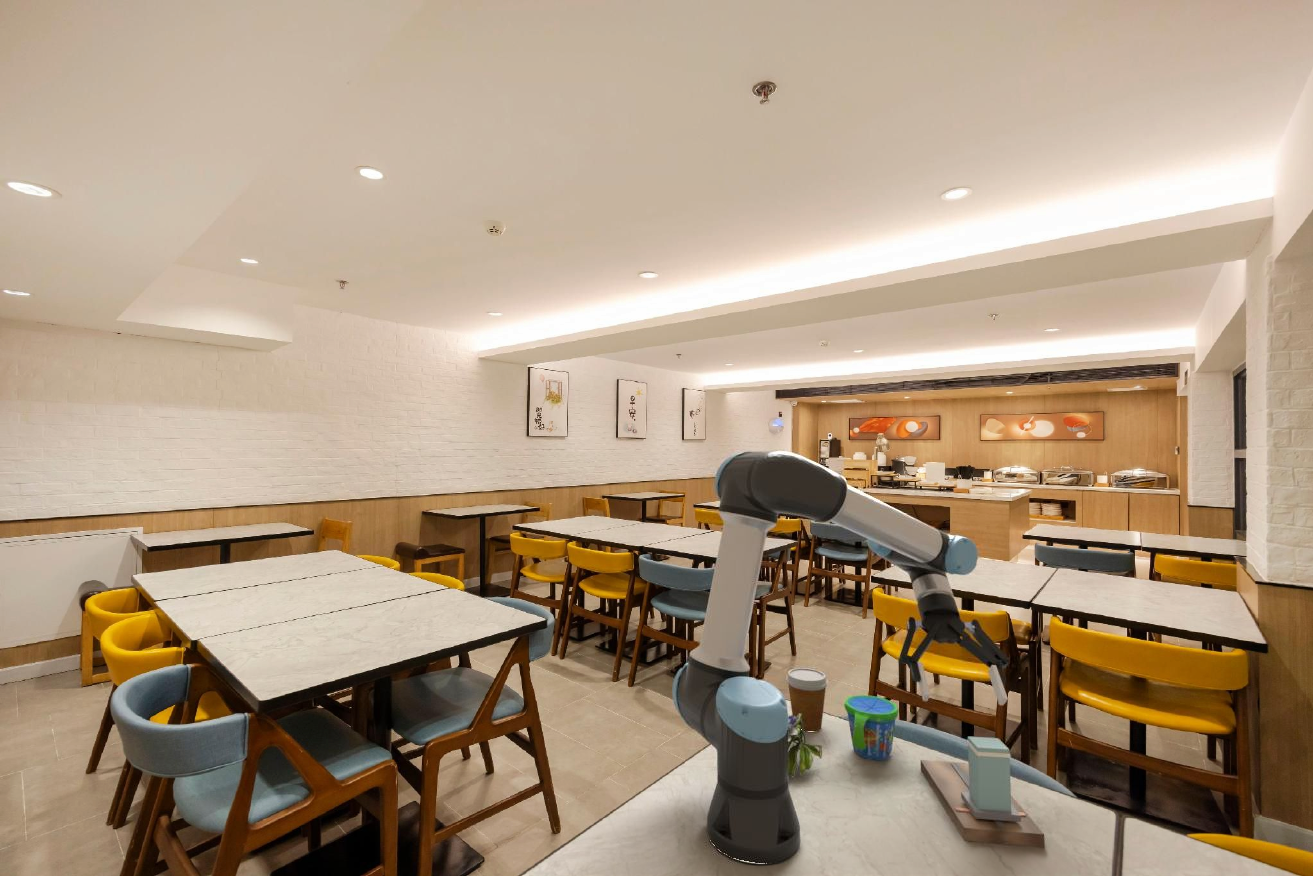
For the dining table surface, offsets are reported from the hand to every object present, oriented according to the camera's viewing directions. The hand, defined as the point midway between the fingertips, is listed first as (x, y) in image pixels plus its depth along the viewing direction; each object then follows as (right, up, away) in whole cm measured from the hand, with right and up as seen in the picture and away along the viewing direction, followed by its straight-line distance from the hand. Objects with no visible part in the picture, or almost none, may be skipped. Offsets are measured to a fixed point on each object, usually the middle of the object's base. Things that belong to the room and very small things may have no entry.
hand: (964, 700), depth 108 cm
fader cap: (-1, -14, -11) cm, 17 cm away
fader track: (-1, -17, -5) cm, 17 cm away
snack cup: (-12, -18, +14) cm, 26 cm away
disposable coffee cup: (-23, -18, +26) cm, 39 cm away
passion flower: (-30, -18, +10) cm, 36 cm away
